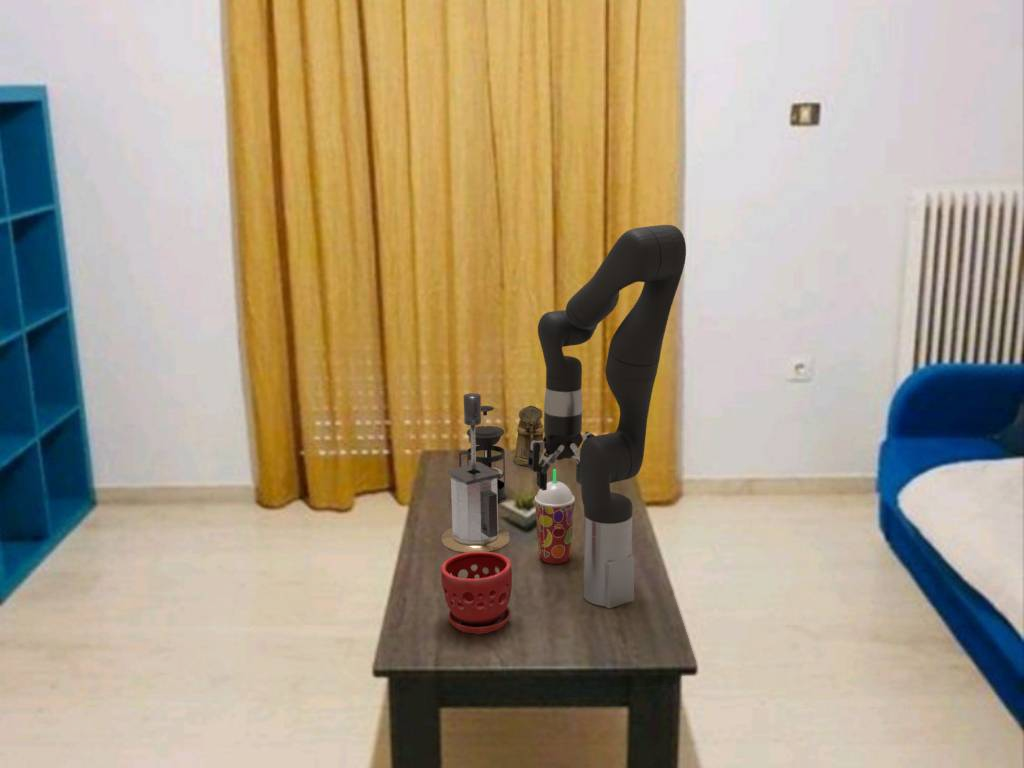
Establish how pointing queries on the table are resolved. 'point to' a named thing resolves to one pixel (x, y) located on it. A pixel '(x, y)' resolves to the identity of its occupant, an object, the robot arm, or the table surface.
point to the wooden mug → (528, 433)
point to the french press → (488, 449)
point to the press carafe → (474, 511)
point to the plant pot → (477, 591)
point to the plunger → (472, 421)
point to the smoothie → (554, 521)
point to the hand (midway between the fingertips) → (561, 486)
